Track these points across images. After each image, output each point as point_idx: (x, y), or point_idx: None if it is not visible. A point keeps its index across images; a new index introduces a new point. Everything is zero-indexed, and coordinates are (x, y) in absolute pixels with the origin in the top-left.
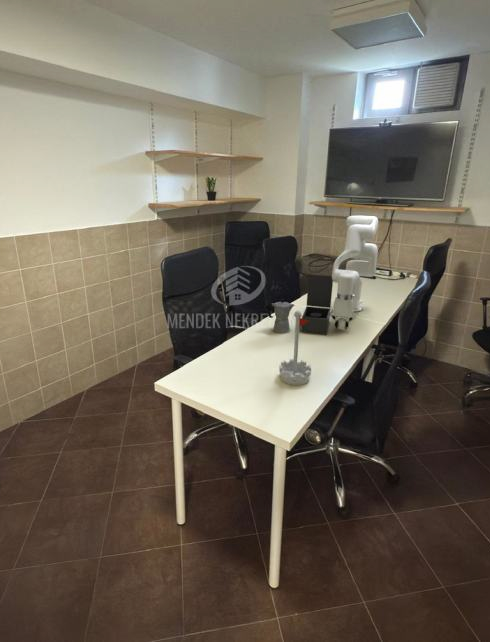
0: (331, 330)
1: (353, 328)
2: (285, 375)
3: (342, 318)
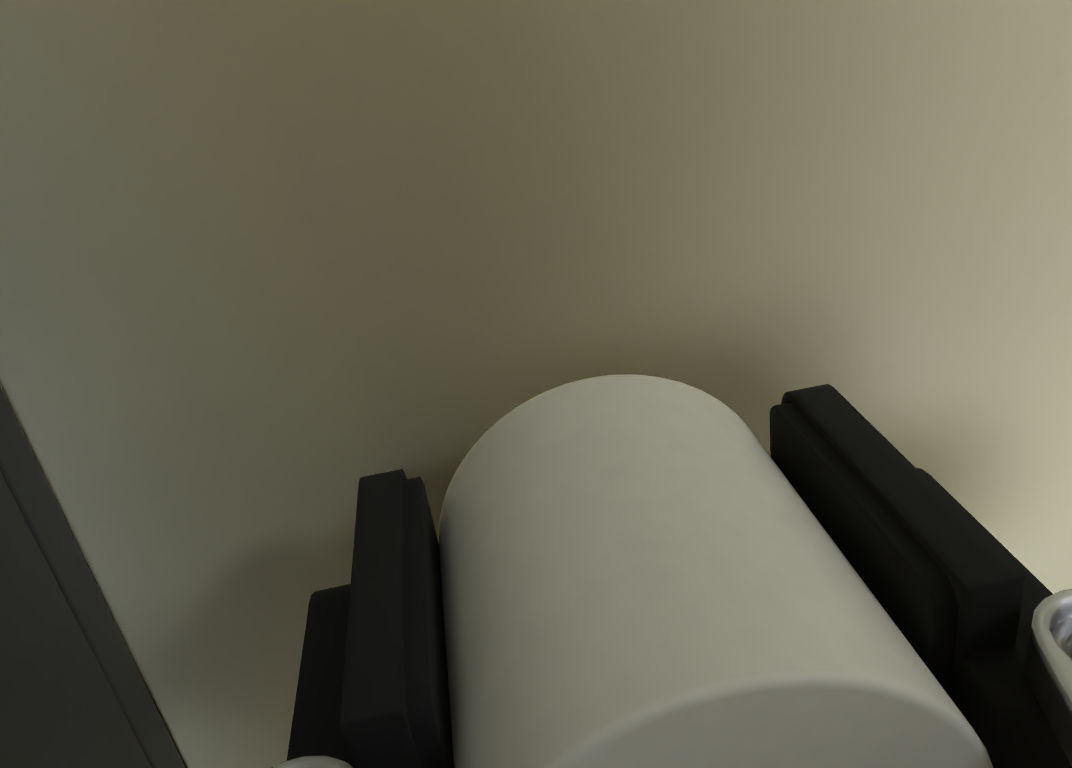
0: (277, 642)
1: (1043, 64)
2: None
3: (746, 745)
